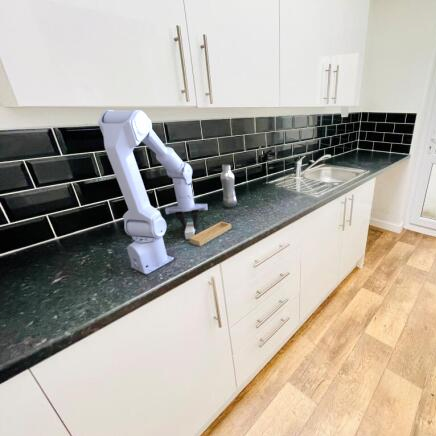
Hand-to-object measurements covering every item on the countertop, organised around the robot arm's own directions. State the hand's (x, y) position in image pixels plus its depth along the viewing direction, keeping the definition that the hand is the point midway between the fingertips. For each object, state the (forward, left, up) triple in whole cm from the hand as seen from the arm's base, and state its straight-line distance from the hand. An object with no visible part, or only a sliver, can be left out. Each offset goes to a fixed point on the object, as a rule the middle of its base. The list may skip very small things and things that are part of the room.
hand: (190, 228), depth 99 cm
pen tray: (+2, -9, -1) cm, 9 cm away
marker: (0, 0, -1) cm, 1 cm away
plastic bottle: (+28, +5, -2) cm, 28 cm away
